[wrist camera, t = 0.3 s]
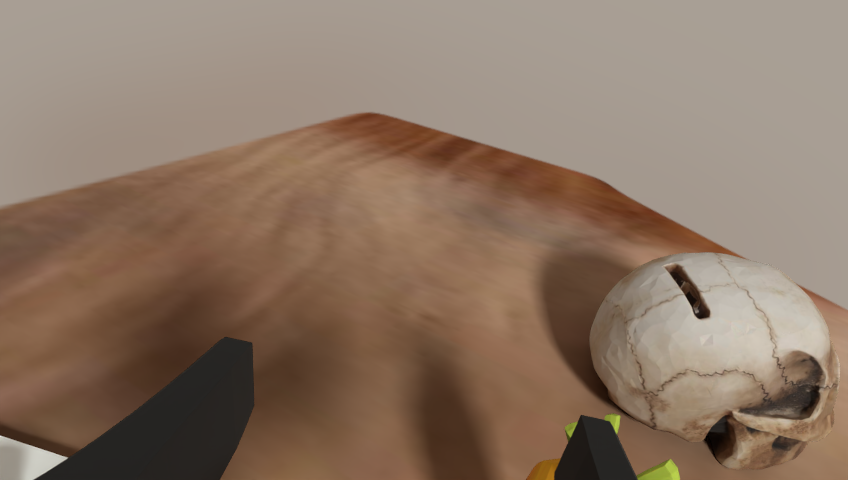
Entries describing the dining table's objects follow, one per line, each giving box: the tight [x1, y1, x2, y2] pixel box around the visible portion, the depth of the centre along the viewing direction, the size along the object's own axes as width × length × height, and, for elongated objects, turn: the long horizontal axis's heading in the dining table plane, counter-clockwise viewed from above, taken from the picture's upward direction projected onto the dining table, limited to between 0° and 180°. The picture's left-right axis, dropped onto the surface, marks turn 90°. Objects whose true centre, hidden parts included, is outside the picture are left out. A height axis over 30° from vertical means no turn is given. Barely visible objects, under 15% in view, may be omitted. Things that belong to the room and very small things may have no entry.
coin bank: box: [589, 252, 840, 470], centre depth 40 cm, size 16×17×13 cm
